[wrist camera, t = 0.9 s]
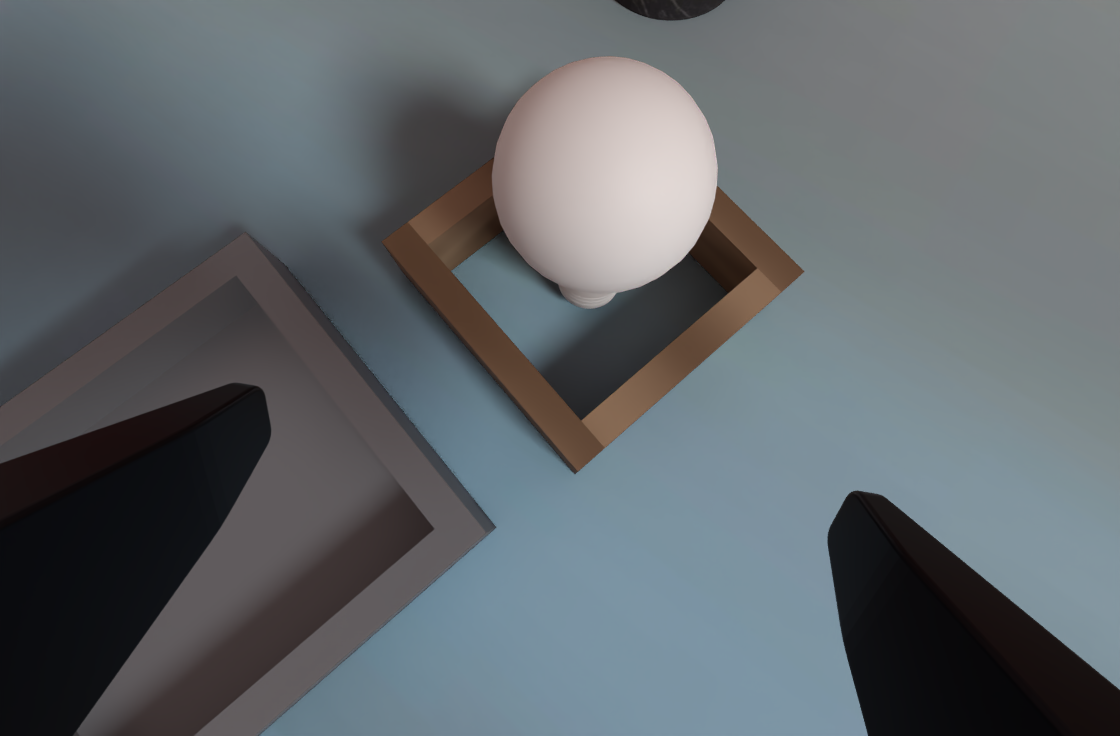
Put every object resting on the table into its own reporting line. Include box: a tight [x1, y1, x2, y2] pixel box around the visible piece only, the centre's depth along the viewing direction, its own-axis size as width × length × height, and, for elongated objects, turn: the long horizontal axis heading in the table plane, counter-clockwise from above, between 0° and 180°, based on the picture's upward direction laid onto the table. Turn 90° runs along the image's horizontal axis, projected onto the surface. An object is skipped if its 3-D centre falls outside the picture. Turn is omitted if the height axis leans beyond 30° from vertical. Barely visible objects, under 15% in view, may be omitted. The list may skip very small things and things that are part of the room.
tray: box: [0, 232, 496, 736], centre depth 19 cm, size 16×14×3 cm
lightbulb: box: [492, 56, 718, 309], centre depth 18 cm, size 6×6×11 cm
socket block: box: [382, 158, 804, 474], centre depth 22 cm, size 11×11×3 cm
